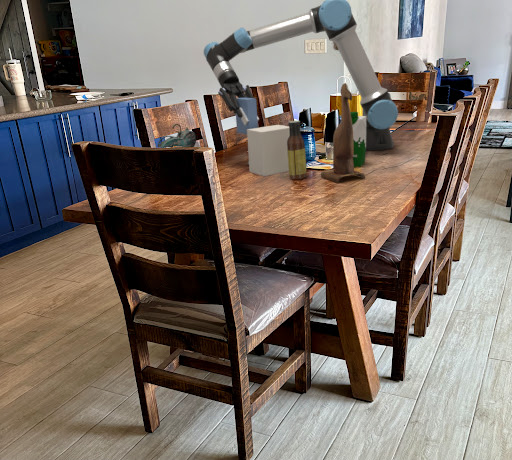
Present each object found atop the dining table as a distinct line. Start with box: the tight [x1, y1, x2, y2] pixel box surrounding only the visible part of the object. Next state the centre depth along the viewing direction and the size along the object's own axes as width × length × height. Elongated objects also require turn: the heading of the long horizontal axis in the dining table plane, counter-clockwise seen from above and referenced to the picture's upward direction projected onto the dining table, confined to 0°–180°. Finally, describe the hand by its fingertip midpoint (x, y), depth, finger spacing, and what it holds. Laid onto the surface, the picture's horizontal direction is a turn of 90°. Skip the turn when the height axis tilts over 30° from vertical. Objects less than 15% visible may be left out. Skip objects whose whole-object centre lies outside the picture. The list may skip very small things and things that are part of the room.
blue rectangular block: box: [235, 97, 259, 135], centre depth 195 cm, size 9×4×13 cm, turn 33°
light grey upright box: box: [246, 124, 290, 177], centre depth 196 cm, size 22×16×16 cm
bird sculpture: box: [320, 82, 366, 184], centre depth 171 cm, size 11×12×32 cm
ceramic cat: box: [157, 123, 197, 148], centre depth 186 cm, size 20×6×20 cm, turn 145°
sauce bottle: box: [287, 120, 308, 180], centre depth 177 cm, size 7×6×20 cm
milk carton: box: [350, 111, 367, 168], centre depth 191 cm, size 9×9×20 cm
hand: (251, 122), depth 193 cm, fingers closed on blue rectangular block, 4 cm apart
